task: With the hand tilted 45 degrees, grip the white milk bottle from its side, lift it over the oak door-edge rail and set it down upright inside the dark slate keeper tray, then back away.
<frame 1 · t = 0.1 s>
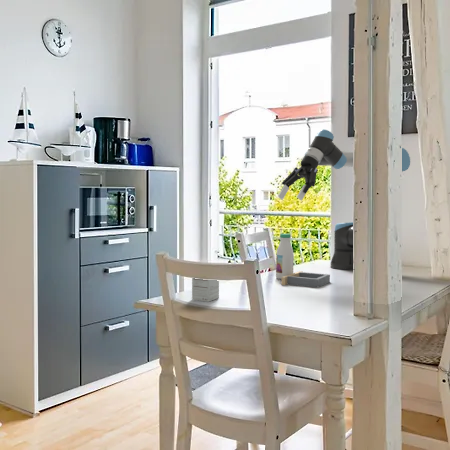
hand: (289, 198, 246), 36 cm above the table, tool tilted 35°, fingers open, 13 cm apart
supplement box: (205, 299, 202), on the table
milk bottle: (284, 278, 249), on the table
keeper tray: (307, 283, 238), on the table
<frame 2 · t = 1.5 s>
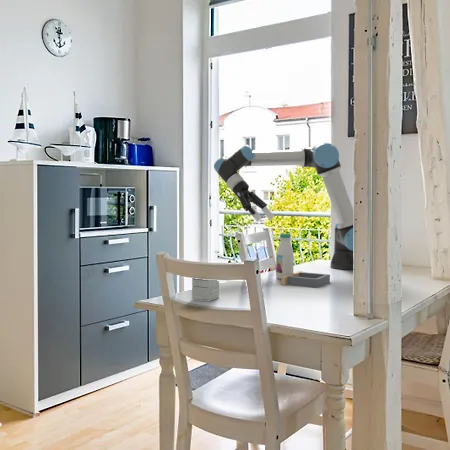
hand: (266, 218, 255), 26 cm above the table, tool tilted 45°, fingers open, 13 cm apart
nothing on the table moved.
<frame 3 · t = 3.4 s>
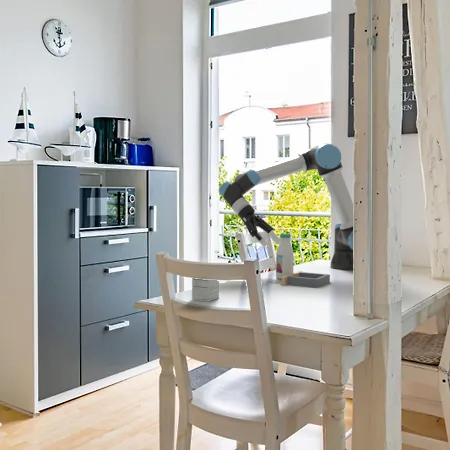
hand: (272, 244, 250), 15 cm above the table, tool tilted 45°, fingers open, 13 cm apart
nothing on the table moved.
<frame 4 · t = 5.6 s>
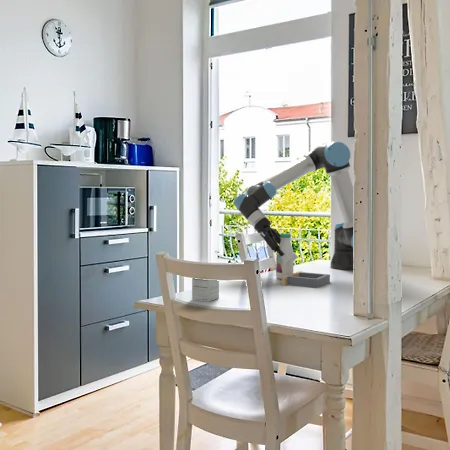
hand: (292, 259, 247), 9 cm above the table, tool tilted 45°, fingers closed on milk bottle, 7 cm apart
milk bottle: (284, 278, 249), on the table, touching gripper
everything else where it was.
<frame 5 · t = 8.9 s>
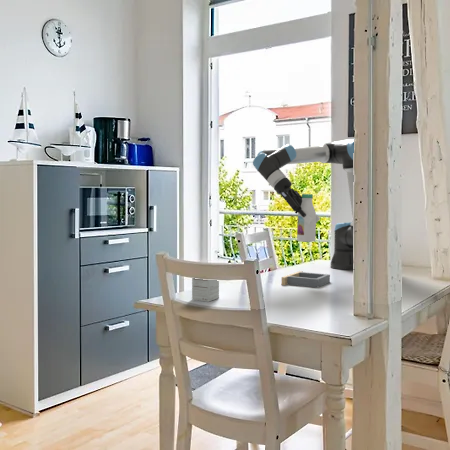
hand: (314, 221, 235), 26 cm above the table, tool tilted 45°, fingers closed on milk bottle, 7 cm apart
milk bottle: (306, 241, 237), point 18 cm above the table, touching gripper
everything else where it was.
when the fingers open (11 cm above the table, at t = 12.3 s): milk bottle drops 2 cm, resting on keeper tray.
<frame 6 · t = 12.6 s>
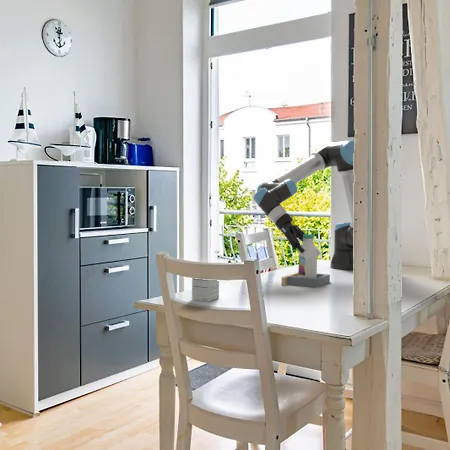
hand: (314, 256, 235), 12 cm above the table, tool tilted 45°, fingers open, 10 cm apart
milk bottle: (307, 281, 238), point 1 cm above the table, touching keeper tray
everything else where it was.
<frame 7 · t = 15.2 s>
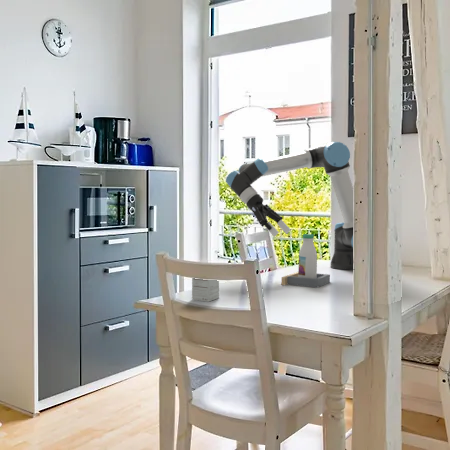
hand: (282, 233, 246), 20 cm above the table, tool tilted 45°, fingers open, 13 cm apart
nothing on the table moved.
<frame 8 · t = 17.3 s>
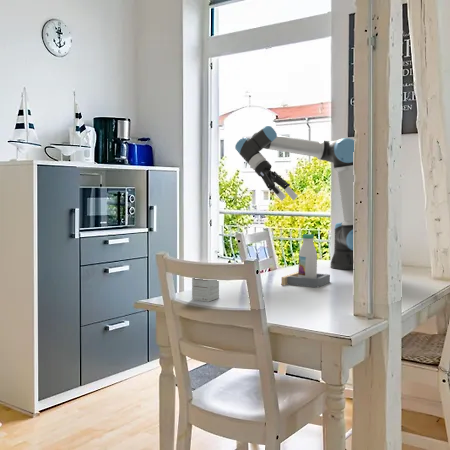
hand: (289, 198, 252), 36 cm above the table, tool tilted 45°, fingers open, 13 cm apart
nothing on the table moved.
at the end: milk bottle inside the target area on the keeper tray (0.4 cm from its centre), point 0.6 cm above the keeper tray's base; milk bottle tilted 0°; the gripper is holding nothing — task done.
